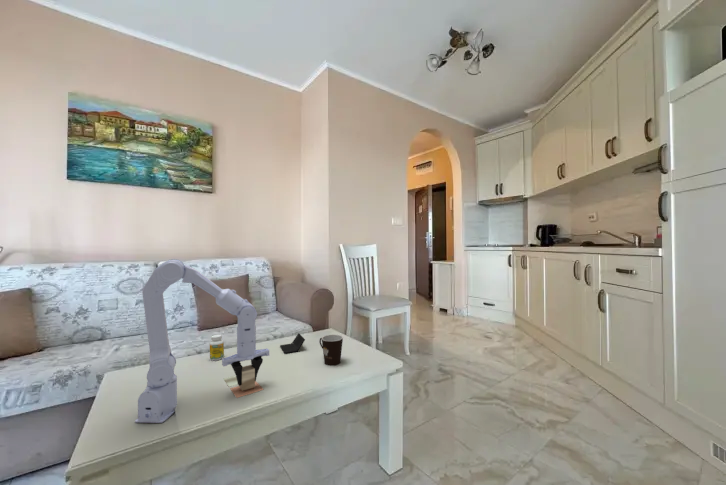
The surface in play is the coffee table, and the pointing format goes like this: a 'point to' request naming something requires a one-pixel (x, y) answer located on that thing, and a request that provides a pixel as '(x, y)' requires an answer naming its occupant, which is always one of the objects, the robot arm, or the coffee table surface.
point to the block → (248, 377)
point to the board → (236, 390)
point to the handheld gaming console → (293, 345)
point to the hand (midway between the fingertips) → (246, 382)
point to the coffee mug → (332, 349)
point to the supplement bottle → (216, 348)
